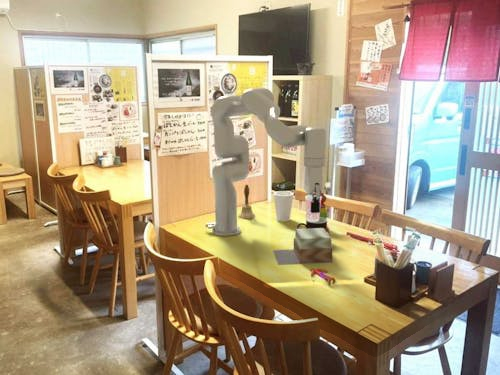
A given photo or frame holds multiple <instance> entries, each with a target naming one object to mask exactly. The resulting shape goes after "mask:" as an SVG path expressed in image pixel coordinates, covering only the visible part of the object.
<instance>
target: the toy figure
mask: <svg viewBox="0 0 500 375" xmlns="http://www.w3.org/2000/svg"><path fill="white" fill-rule="evenodd" d="M308 270H309V271H310V272H311V274H310V277H311V278H313V277H314V275H317V276H318V277H319V278H322V279H324V280H327V284H328V286H331V284H332V285H335V283H336V279H335V277H333V276H330V275H327V274H328V273H329V271H328V270H326V269H324V268H317V269H315V268H314V267H310V268H309V269H308ZM323 272H325V273H327V274H324V273H323ZM312 282H313V283H314V282H315V280H312Z"/></svg>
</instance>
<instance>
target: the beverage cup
mask: <svg viewBox="0 0 500 375" xmlns="http://www.w3.org/2000/svg"><path fill="white" fill-rule="evenodd" d="M313 194H314V192H313ZM315 196H316V195H315ZM315 196H314V197H315ZM304 199H305V221H306V220H307V221H309V222H317V221H319V215H320V212H319V213H311V202H312V195H307V194H306V195H305V196H304ZM321 199H322V197H321V196H320V205H321Z"/></svg>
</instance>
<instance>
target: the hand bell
mask: <svg viewBox="0 0 500 375" xmlns="http://www.w3.org/2000/svg"><path fill="white" fill-rule="evenodd" d="M243 194H244V204H243V205H242V207H241V211H240V213H239V214H238V218H240V219H247V220H248V219H249V220H250V219H254V218H256V214H255V213H254V212H253V210H252V205H251V204H249V196H250V187H249V185H248V184H245V185H244V190H243Z"/></svg>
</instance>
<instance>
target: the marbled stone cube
mask: <svg viewBox="0 0 500 375" xmlns="http://www.w3.org/2000/svg"><path fill="white" fill-rule="evenodd" d="M294 233H295V237H294V238H293V249H294V252H295V254H296V256H297V258H298V260H299V262H300V263H304V262H329V261H332V262H333V247H332V237H331V236H330V234H329V232H326V230H325V229H324V228H308V229H306V228H299V229H297V228H296V229H295V232H294Z"/></svg>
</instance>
